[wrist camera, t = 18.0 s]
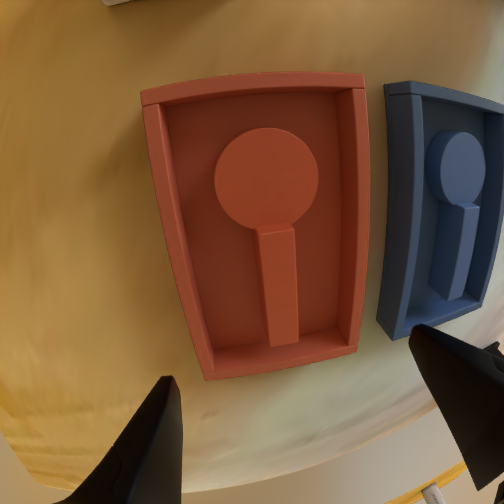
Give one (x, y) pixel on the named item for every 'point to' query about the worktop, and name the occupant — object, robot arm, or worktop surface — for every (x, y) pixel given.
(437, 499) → the travel mug
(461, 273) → the blue spoon
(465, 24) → the worktop surface
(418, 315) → the blue tray
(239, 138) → the terracotta spoon
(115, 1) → the milk carton
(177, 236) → the terracotta tray
